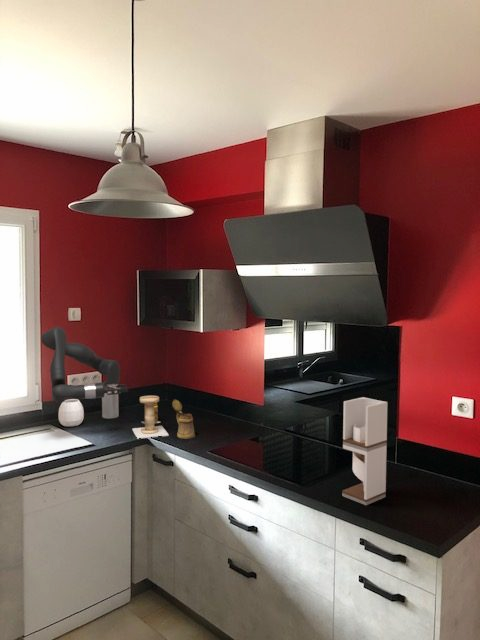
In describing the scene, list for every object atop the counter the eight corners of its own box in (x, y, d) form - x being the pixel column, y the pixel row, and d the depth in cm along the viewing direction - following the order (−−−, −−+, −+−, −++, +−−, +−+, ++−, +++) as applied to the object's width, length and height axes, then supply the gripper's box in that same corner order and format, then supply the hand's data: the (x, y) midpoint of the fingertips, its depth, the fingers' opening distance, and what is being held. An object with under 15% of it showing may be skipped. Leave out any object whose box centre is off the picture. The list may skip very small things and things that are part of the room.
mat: (132, 429, 278) (132, 428, 278) (161, 426, 284) (161, 425, 283) (137, 438, 261) (137, 437, 261) (168, 435, 267) (168, 434, 267)
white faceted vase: (64, 429, 277) (64, 404, 277) (54, 424, 287) (54, 400, 286) (88, 425, 286) (87, 401, 285) (77, 420, 296) (77, 397, 295)
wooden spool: (138, 430, 275) (138, 396, 274) (157, 428, 279) (157, 394, 277) (141, 435, 266) (141, 400, 265) (161, 433, 269) (160, 398, 268)
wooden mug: (180, 431, 275) (180, 397, 274) (198, 436, 266) (198, 401, 265) (167, 434, 268) (167, 400, 267) (185, 440, 259) (185, 404, 258)
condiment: (160, 422, 293) (160, 401, 292) (148, 425, 287) (147, 403, 286) (153, 419, 298) (153, 399, 297) (140, 422, 292) (140, 401, 291)
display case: (361, 488, 199) (363, 397, 196) (385, 497, 190) (387, 402, 188) (342, 495, 191) (343, 401, 189) (366, 505, 183) (367, 406, 181)
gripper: (95, 386, 256) (128, 383, 261) (92, 380, 269) (124, 378, 274) (95, 401, 256) (129, 398, 262) (93, 395, 270) (125, 392, 275)
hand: (126, 387), depth 268 cm, fingers open, 8 cm apart
